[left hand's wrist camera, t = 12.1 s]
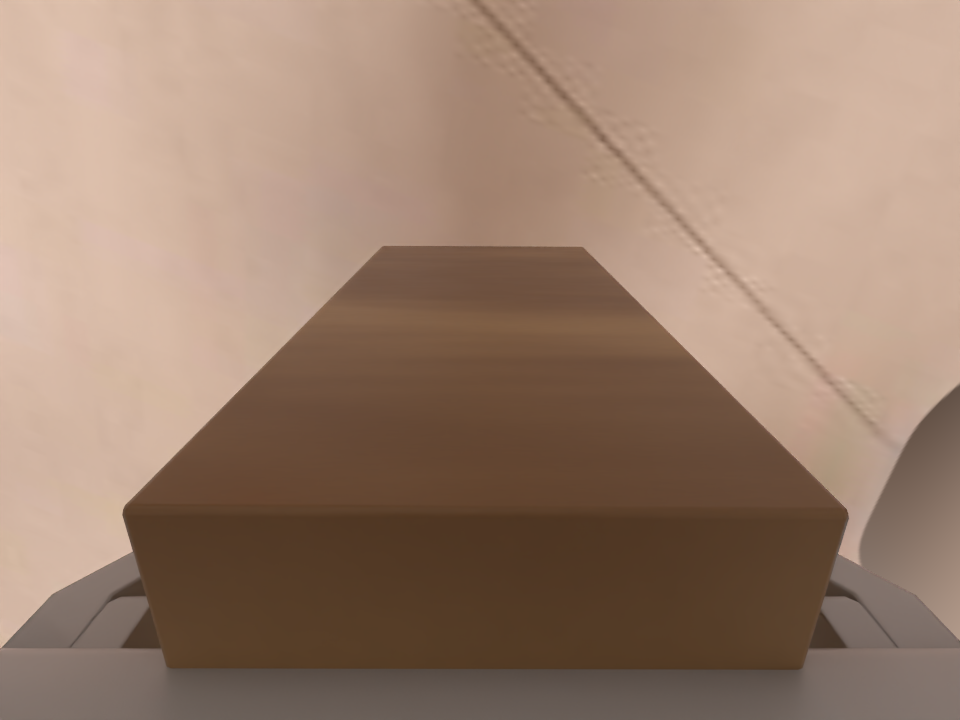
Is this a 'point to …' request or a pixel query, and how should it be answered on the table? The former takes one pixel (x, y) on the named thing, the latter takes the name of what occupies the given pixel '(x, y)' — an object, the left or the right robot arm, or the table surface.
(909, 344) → the table surface
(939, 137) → the table surface
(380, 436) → the box
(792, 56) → the table surface
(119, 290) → the table surface
